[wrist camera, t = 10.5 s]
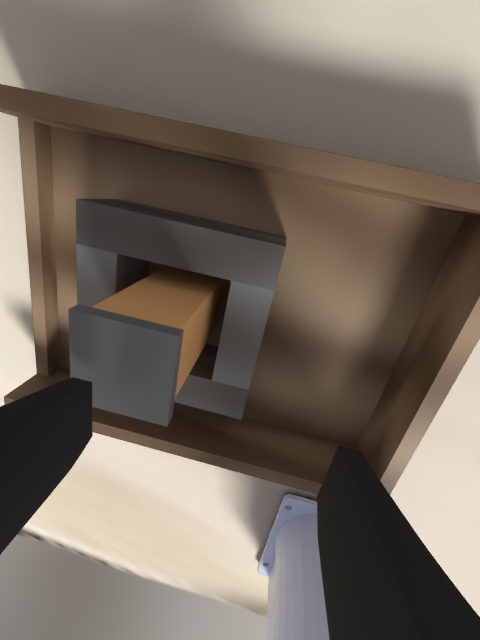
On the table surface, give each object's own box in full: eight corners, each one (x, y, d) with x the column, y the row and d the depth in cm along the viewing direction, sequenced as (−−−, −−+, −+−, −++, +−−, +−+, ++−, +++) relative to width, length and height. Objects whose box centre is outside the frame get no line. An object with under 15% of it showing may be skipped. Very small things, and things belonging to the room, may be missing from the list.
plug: (216, 333, 18) (167, 426, 11) (158, 320, 18) (71, 401, 11) (227, 275, 17) (178, 336, 9) (164, 261, 17) (68, 309, 9)
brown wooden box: (363, 454, 20) (380, 511, 16) (53, 372, 21) (5, 407, 18) (487, 200, 14) (559, 200, 10) (41, 106, 15) (-38, 76, 12)
